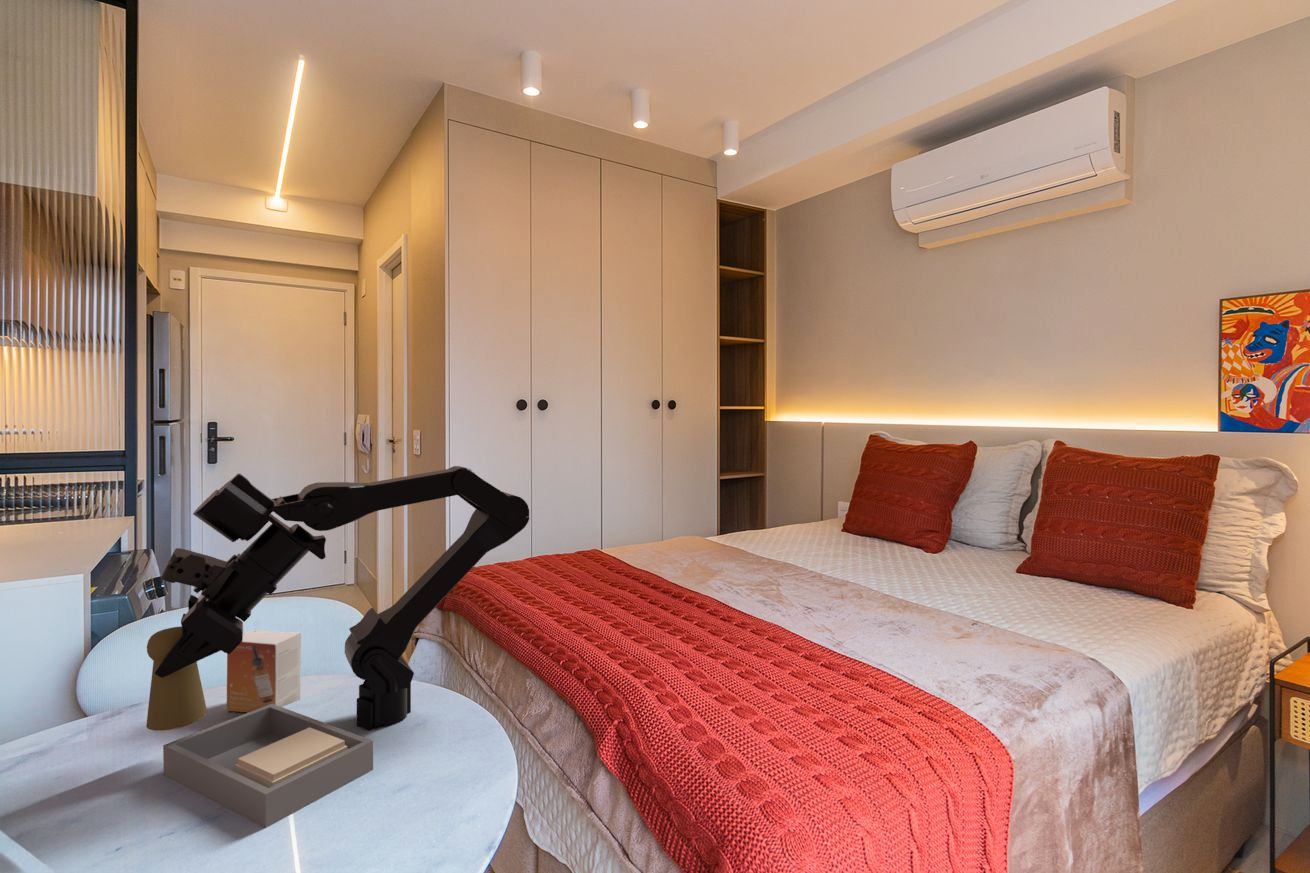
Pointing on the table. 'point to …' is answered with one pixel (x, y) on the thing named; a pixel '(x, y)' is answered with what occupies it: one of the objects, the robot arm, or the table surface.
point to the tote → (217, 749)
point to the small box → (264, 670)
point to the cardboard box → (289, 757)
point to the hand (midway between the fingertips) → (161, 667)
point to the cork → (173, 688)
